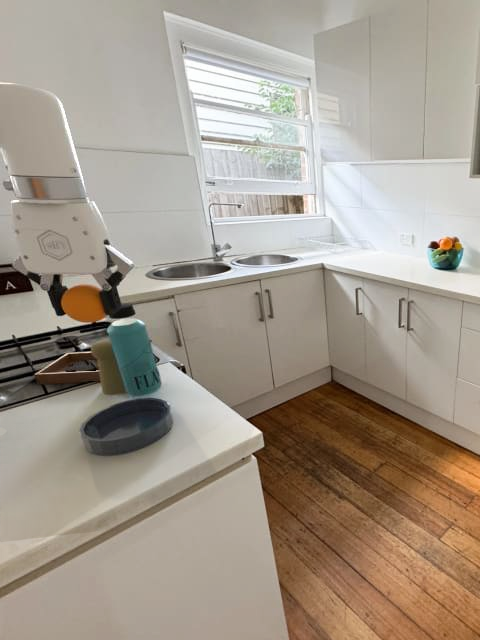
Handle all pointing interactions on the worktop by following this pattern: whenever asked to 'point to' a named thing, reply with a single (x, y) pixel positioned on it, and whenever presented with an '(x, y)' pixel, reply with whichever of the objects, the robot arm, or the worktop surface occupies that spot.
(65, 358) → the tray
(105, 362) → the cork
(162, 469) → the worktop surface
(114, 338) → the beverage bottle
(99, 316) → the tangerine
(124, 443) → the dish
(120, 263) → the robot arm
